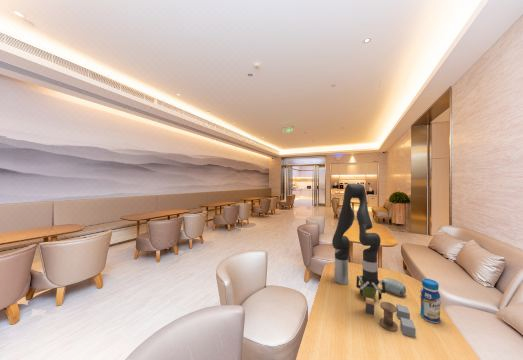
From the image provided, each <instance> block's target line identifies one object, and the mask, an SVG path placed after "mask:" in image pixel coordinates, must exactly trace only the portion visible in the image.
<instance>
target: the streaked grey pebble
mask: <svg viewBox="0 0 523 360" xmlns="http://www.w3.org/2000/svg"><path fill="white" fill-rule="evenodd" d="M382 280H384V283H385V292H388V293H391V294H394V295H396V296H398V297H399V296H401V297H403V296H405V295H406V294H407V289H406V286H405V284H404V283H403V282H401V281H400V280H397V279H394V278H388V277H385V278H382Z"/></svg>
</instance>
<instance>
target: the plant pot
mask: <svg viewBox="0 0 523 360" xmlns="http://www.w3.org/2000/svg"><path fill="white" fill-rule="evenodd" d="M358 276H359V277H363V274H361V275H358ZM362 283H363V281H362V280H361V281H359V285H361V284H362ZM376 293H377V290H376V288H375V287H374V288H372V287H367V286H365V287H364V288H363V296H362V298H364V299H366V297H367V298H371V299H374V300H375V299H376Z"/></svg>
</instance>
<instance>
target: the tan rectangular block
mask: <svg viewBox="0 0 523 360" xmlns="http://www.w3.org/2000/svg"><path fill="white" fill-rule="evenodd" d="M365 314H366V315H370V316H375V299H371V298H367V297H366V298H365Z"/></svg>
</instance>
